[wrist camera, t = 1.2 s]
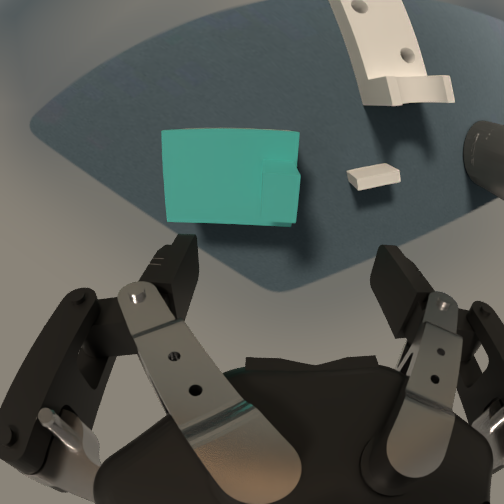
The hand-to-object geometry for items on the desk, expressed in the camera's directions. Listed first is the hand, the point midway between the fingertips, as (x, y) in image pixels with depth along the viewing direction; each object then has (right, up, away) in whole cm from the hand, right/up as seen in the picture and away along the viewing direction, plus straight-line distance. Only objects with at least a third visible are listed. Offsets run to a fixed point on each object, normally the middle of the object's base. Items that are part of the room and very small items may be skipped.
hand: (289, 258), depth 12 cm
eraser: (+11, +9, +16) cm, 21 cm away
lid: (-4, +7, +12) cm, 14 cm away
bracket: (+12, +22, +9) cm, 26 cm away
